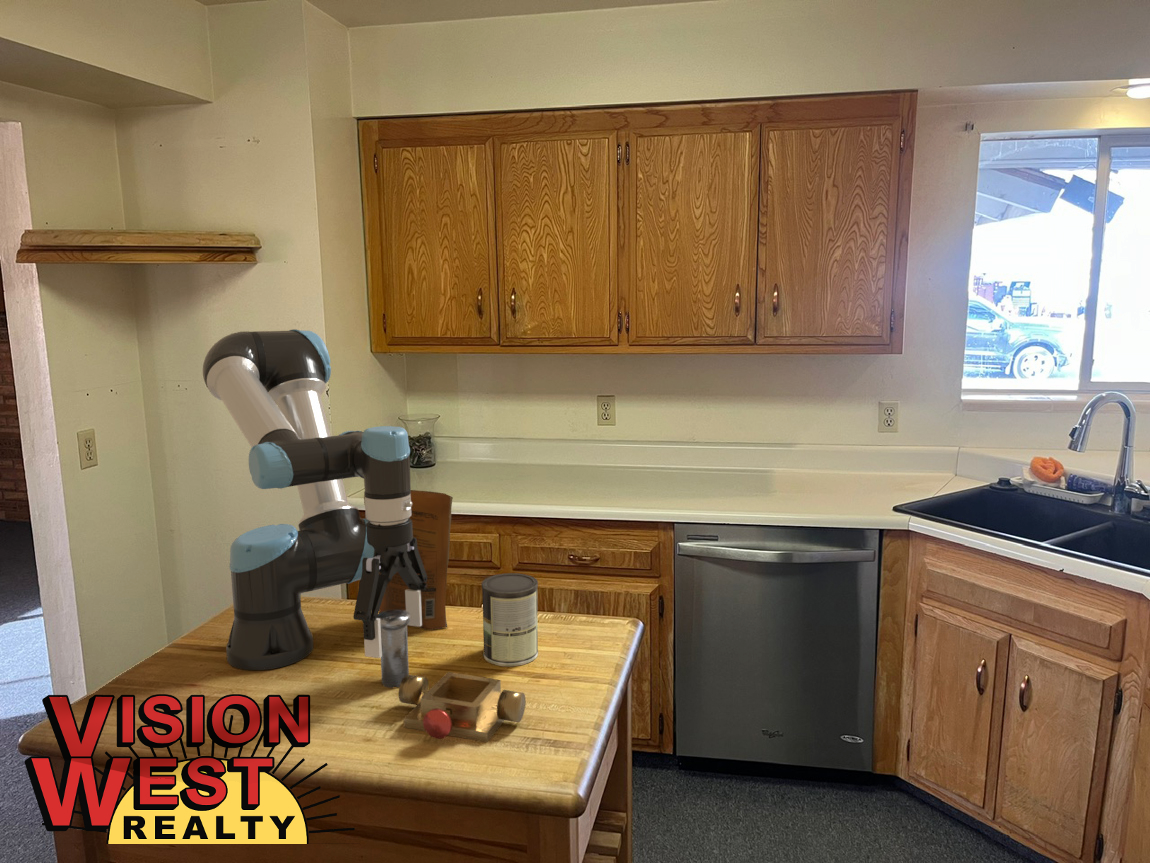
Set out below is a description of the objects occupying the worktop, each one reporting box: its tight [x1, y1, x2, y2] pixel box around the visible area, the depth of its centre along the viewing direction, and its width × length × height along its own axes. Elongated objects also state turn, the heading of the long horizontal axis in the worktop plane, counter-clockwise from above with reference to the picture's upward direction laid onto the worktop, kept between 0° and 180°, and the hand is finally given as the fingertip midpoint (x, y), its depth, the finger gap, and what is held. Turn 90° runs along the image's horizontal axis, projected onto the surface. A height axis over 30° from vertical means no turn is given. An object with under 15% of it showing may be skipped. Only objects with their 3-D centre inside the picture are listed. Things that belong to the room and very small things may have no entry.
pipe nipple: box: [377, 610, 410, 689], centre depth 140 cm, size 6×6×12 cm
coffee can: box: [481, 572, 539, 667], centre depth 150 cm, size 10×10×14 cm
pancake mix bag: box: [363, 489, 454, 630], centre depth 163 cm, size 7×19×28 cm, turn 67°
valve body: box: [398, 671, 527, 743], centre depth 128 cm, size 20×15×5 cm
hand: (394, 640), depth 139 cm, fingers open, 13 cm apart
